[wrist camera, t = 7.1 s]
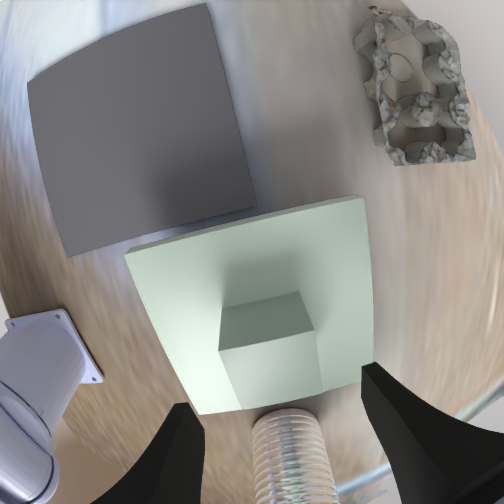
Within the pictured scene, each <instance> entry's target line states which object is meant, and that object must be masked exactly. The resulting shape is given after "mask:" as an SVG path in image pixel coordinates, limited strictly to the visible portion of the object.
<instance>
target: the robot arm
mask: <svg viewBox="0 0 504 504" xmlns="http://www.w3.org/2000/svg"><path fill="white" fill-rule="evenodd" d="M58 315H59V316H58ZM5 325H6V327H7V329H8V332H7V333H6V334H5V335H4V336H3V337H2V338H1V339H0V504H44V503H46V502H47V501H48V500H49V499H50V498H51V497H52V496H53V494H54V493H55V491H56V488H57V485H58V481H59V464H58V461H57V459H56V458H55V456H53V453H54V450H55V448H56V444H55V443H54V442H53V441H52V439H51V437H52V435H53V433H54V431H55V429H56V427H57V425H58V423H59V421H60V419H61V417H62V415H63V413H64V411H65V410H66V408H67V406H68V404H69V402H70V400H71V398H72V396H73V395H74V393H75V391H76V389H77V387H78V385H79V384H80V383H102V382H103V381H104V377H103V375H102V374H101V372H100V370H99V369H98V367H97V366H96V364H95V362H94V361H93V359H92V357H91V356H90V354H89V352H88V350H87V349H86V347H85V345H84V343H83V342H82V340H81V338H80V336H79V334H78V333H77V331H76V329H75V327H74V325H73V323H72V321H71V319H70V317H69V315H68V313H67V312H66V311H65V310H64V309H57V310H52V311H47V312H42V313H37V314H32V315H27V316H22V317H17V318H12V319H7V320H6V321H5ZM361 398H362V401H363V404H364V407H365V410H366V413H367V416H368V418H369V420H370V422H371V424H372V426H373V428H374V431H375V433H376V435H377V437H378V439H379V441H380V443H381V445H382V447H383V449H384V451H385V453H386V455H387V457H388V460H389V462H390V465H391V468H392V471H393V474H394V477H395V480H396V484H397V487H398V491H399V494H400V498H401V502H402V504H504V433H499V432H494V431H489V430H486V429H482V428H479V427H476V426H473V425H471V424H468V423H465V422H463V421H460V420H458V419H456V418H454V417H451V416H449V415H447V414H445V413H444V412H442V411H440V410H438V409H436V408H435V407H433V406H431V405H430V404H428V403H427V402H425V401H424V400H422V399H421V398H419V397H418V396H416V395H415V394H414V393H412V392H411V391H410V390H408V389H407V388H406V387H405V386H403V385H402V384H401V383H400V382H398V381H397V380H396V379H395V378H394V377H392V376H391V375H390V374H389V373H388V372H387V371H386V370H385V369H383V368H382V367H381V366H380V365H379V364H378V363H377V362H373V363H370V364H367V365H364V366H361ZM204 455H205V433H204V428H203V427H202V425H201V423H200V422H199V420H198V418H197V417H196V415H195V413H194V412H193V410H192V408H191V407H190V405H189V403H188V402H186V403H176V404H174V405H173V407H172V409H171V410H170V412H169V414H168V415H167V417H166V419H165V420H164V422H163V424H162V425H161V427H160V429H159V430H158V432H157V433H156V435H155V437H154V438H153V440H152V441H151V443H150V444H149V446H148V447H147V448H146V450H145V451H144V453H143V454H142V455H141V457H140V458H139V459H138V461H137V462H136V463H135V464H134V465H133V467H132V468H131V469H130V470H129V471H128V472H127V473H126V475H125V476H123V477H122V478H121V480H119V481H118V482H117V483H116V484H115V485H114V486H113V487H112V488H111V489H109V490H108V491H107V492H106V493H104V494H103V495H102V496H101V497H99V498H98V499H97V500H95V501H94V502H92V503H90V504H201V503H200V496H201V484H202V474H203V465H204Z"/></svg>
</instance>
